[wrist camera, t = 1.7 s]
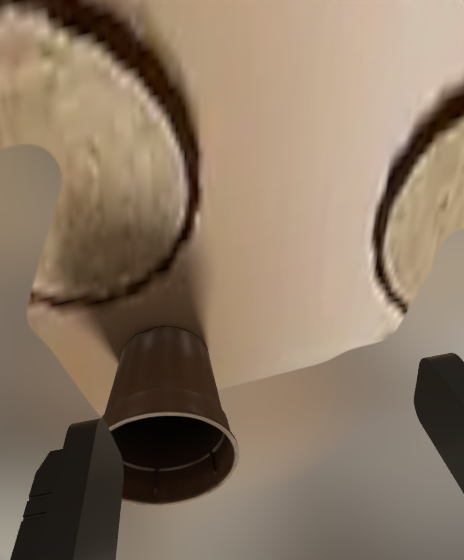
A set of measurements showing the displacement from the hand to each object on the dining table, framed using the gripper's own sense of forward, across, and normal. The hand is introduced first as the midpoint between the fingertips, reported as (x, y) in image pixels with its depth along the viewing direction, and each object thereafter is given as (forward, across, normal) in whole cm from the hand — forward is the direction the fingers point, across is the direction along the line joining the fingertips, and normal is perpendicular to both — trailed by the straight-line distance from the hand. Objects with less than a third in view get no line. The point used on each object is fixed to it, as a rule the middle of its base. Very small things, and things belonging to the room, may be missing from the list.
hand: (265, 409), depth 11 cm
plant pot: (+37, +10, +31) cm, 49 cm away
